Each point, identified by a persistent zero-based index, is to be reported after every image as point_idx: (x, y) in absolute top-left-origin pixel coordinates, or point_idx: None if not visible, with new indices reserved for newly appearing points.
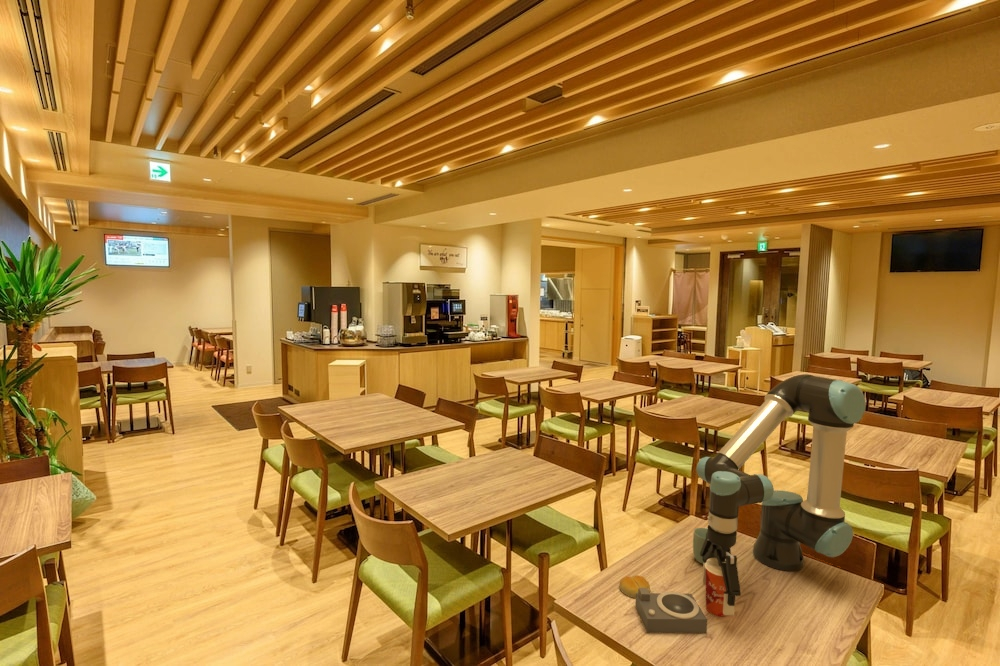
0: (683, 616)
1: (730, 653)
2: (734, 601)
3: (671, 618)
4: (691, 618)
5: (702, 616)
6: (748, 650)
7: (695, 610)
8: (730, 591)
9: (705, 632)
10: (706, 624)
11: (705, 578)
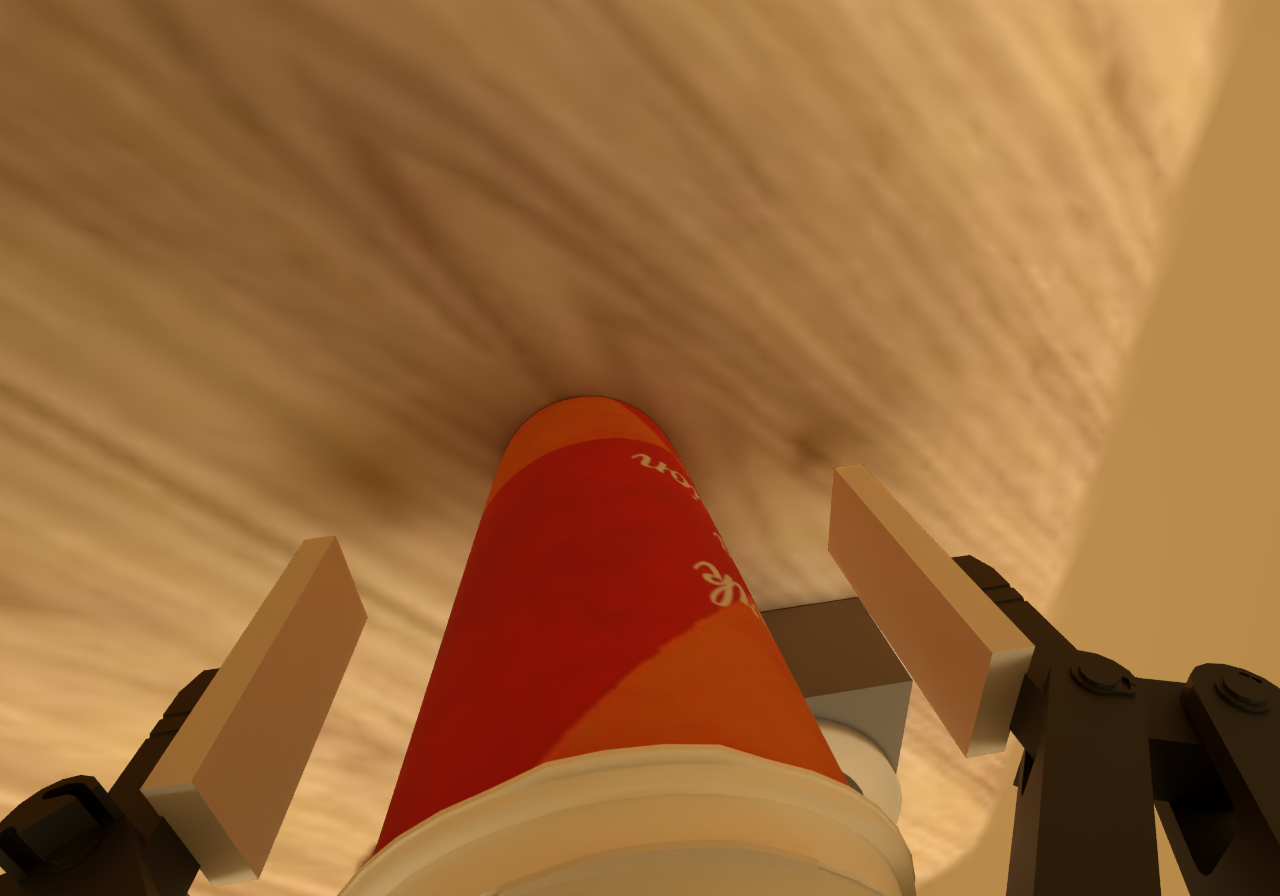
0: (892, 816)
1: (1051, 504)
2: (1023, 600)
3: None
4: (891, 764)
5: (876, 703)
6: (1056, 377)
7: (834, 753)
8: (1199, 817)
9: (859, 607)
10: (891, 650)
11: (335, 656)
